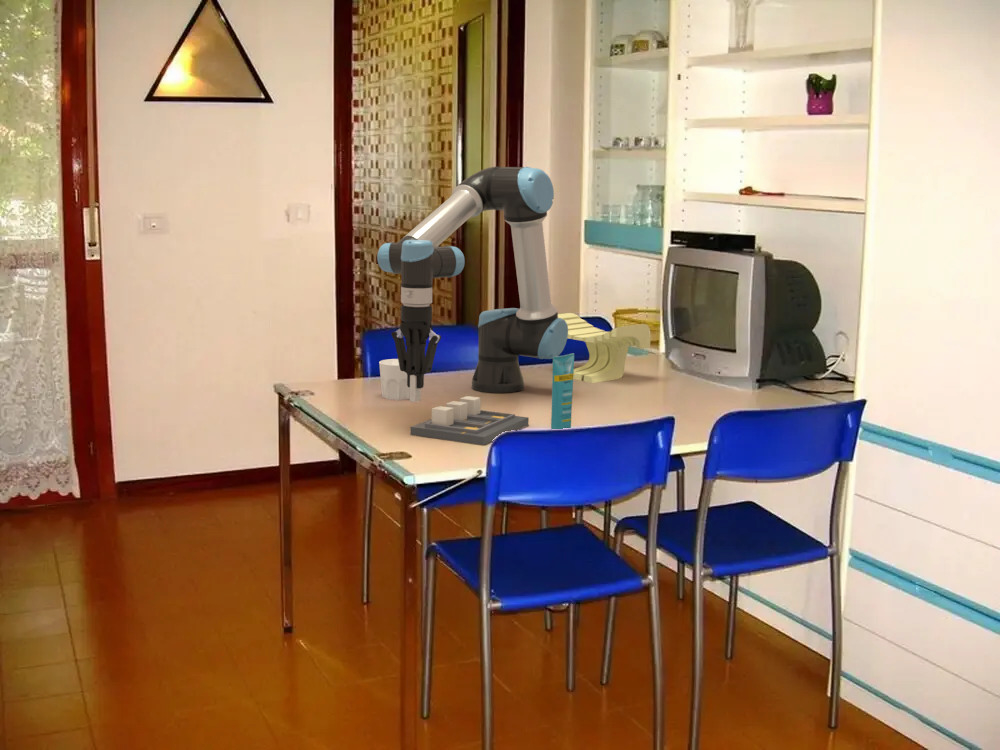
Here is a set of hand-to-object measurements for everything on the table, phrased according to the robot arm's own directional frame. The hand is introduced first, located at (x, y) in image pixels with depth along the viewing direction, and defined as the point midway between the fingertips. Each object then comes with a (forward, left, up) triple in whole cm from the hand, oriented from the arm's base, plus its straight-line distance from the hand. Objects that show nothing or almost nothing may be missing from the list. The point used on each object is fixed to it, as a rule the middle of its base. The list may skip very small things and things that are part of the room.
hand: (415, 400), depth 286 cm
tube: (+32, +17, -8) cm, 37 cm away
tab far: (+8, +14, -5) cm, 17 cm away
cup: (-24, +31, -8) cm, 40 cm away
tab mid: (+8, +7, -5) cm, 12 cm away
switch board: (+12, +7, -7) cm, 15 cm away
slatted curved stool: (+11, +89, -8) cm, 90 cm away
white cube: (+8, 0, -5) cm, 9 cm away
